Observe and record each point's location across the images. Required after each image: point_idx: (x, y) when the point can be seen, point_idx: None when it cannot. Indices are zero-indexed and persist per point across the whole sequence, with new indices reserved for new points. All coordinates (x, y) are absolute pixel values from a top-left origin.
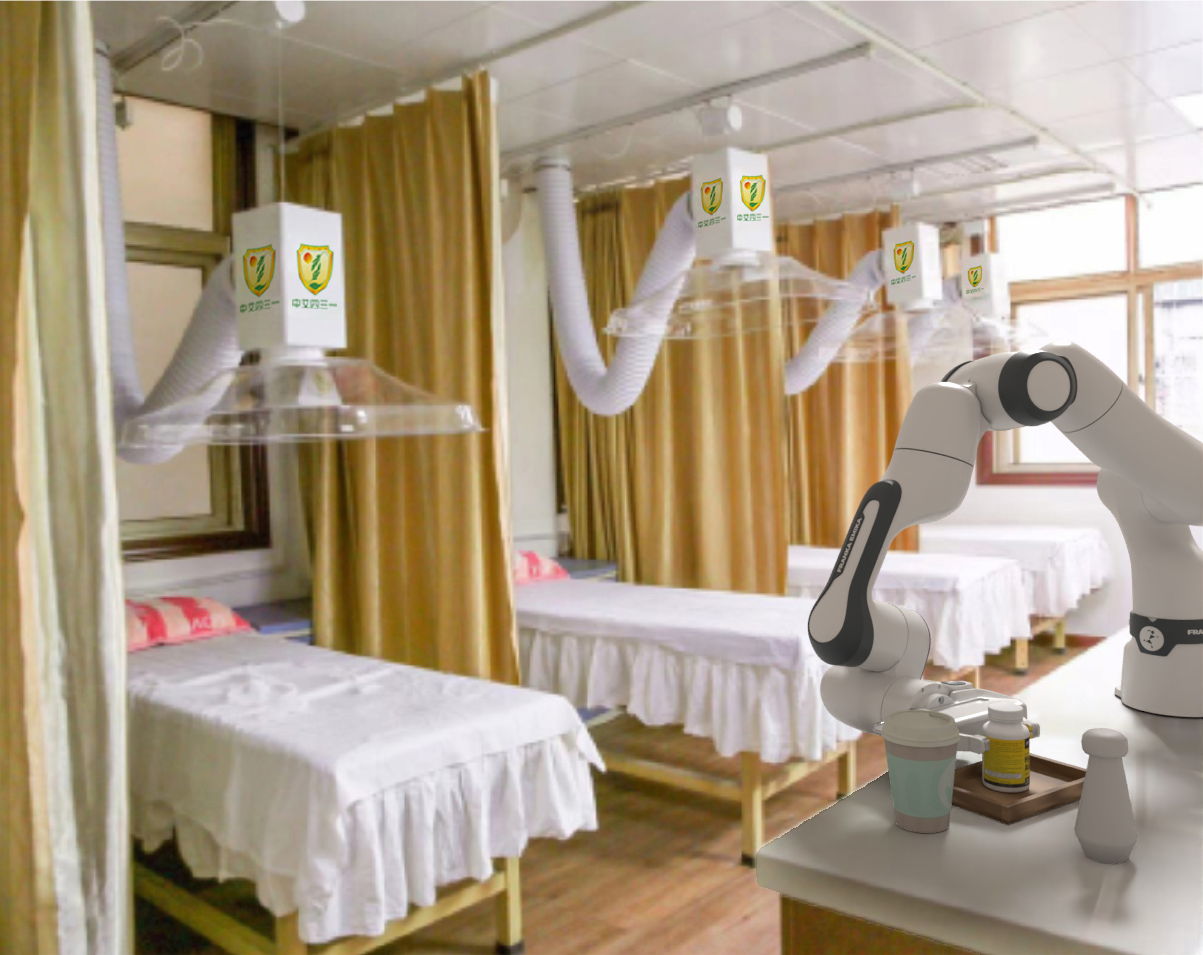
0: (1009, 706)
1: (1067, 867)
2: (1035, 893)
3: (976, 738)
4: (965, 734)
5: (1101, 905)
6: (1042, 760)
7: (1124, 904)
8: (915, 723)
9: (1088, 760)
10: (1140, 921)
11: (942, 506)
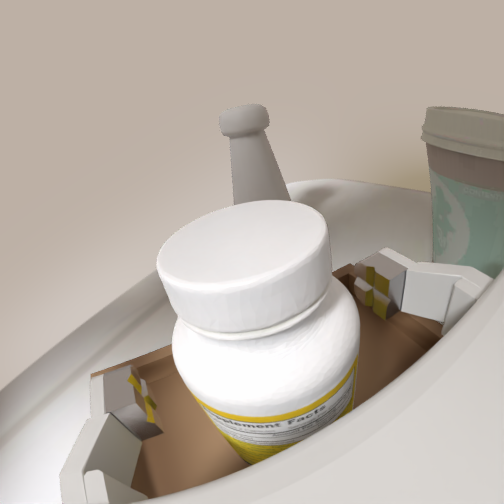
0: (212, 240)
1: None
2: (357, 199)
3: (395, 251)
4: (429, 270)
5: (316, 196)
6: None
7: (300, 198)
8: (482, 114)
9: (263, 139)
10: (301, 189)
11: None
